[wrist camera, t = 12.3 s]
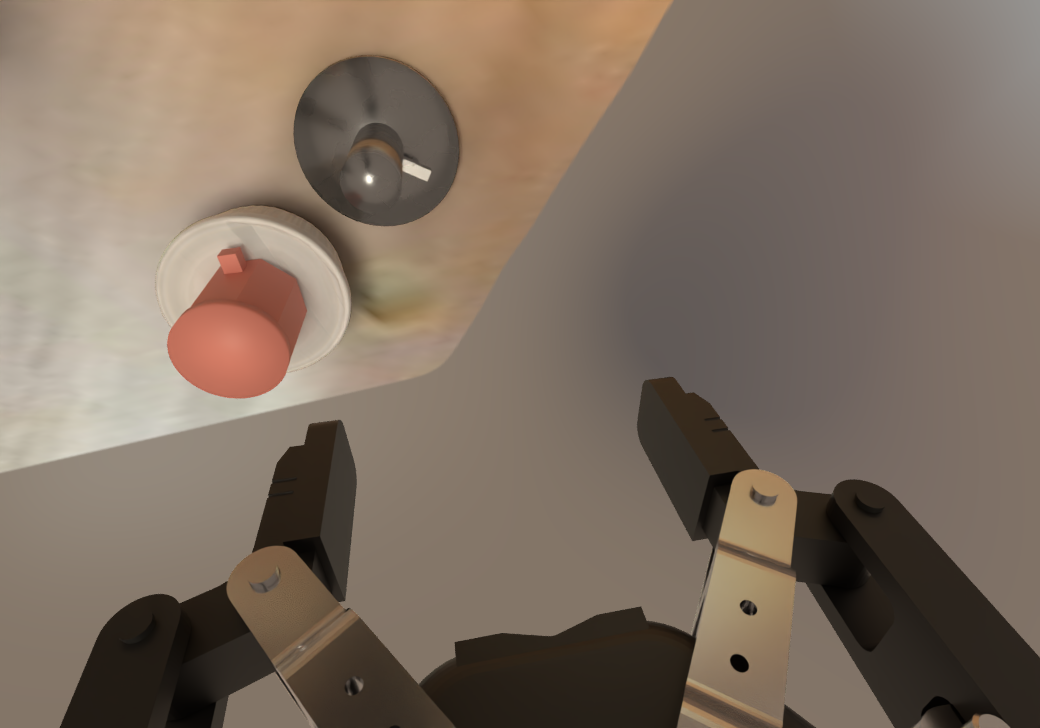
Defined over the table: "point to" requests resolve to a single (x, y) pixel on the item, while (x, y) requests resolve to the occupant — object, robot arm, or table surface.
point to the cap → (239, 329)
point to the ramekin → (279, 245)
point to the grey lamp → (376, 140)
